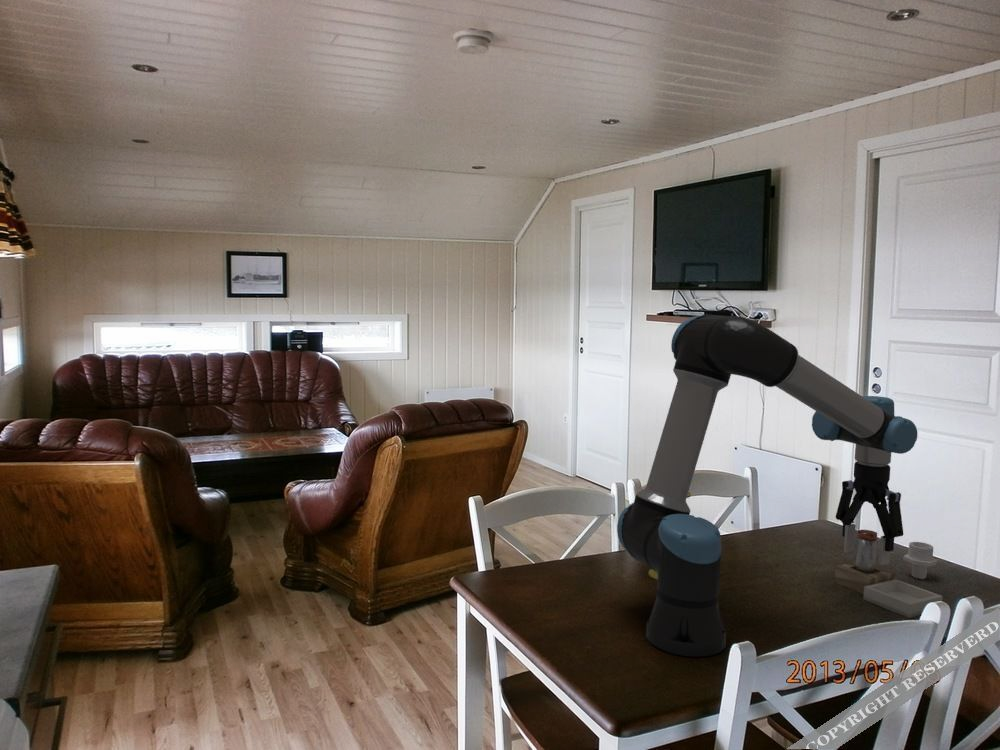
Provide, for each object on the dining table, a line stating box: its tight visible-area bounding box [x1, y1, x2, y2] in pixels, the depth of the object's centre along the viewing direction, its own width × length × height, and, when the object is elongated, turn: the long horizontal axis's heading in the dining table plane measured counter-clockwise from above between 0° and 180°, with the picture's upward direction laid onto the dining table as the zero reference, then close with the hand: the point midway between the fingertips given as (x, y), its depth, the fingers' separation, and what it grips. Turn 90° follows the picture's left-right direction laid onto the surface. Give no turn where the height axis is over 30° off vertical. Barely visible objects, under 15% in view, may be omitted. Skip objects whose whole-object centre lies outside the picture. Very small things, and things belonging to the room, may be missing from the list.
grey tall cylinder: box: [855, 529, 878, 575], centre depth 175 cm, size 4×4×13 cm
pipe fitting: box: [902, 541, 938, 580], centre depth 182 cm, size 6×7×8 cm
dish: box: [863, 578, 944, 619], centre depth 165 cm, size 11×11×3 cm
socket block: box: [834, 561, 896, 595], centre depth 176 cm, size 9×9×4 cm
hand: (866, 557), depth 175 cm, fingers open, 9 cm apart
